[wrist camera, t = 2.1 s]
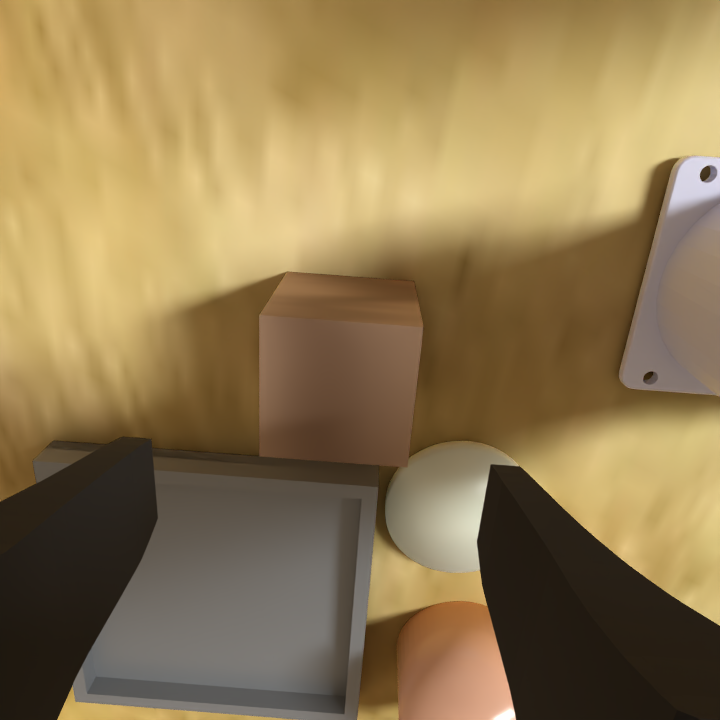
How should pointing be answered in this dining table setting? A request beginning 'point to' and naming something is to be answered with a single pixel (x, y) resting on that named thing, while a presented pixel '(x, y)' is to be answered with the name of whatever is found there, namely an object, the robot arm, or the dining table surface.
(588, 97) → the dining table surface
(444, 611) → the peach capsule shape
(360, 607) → the tray
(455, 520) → the white rounded disc
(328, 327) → the block
